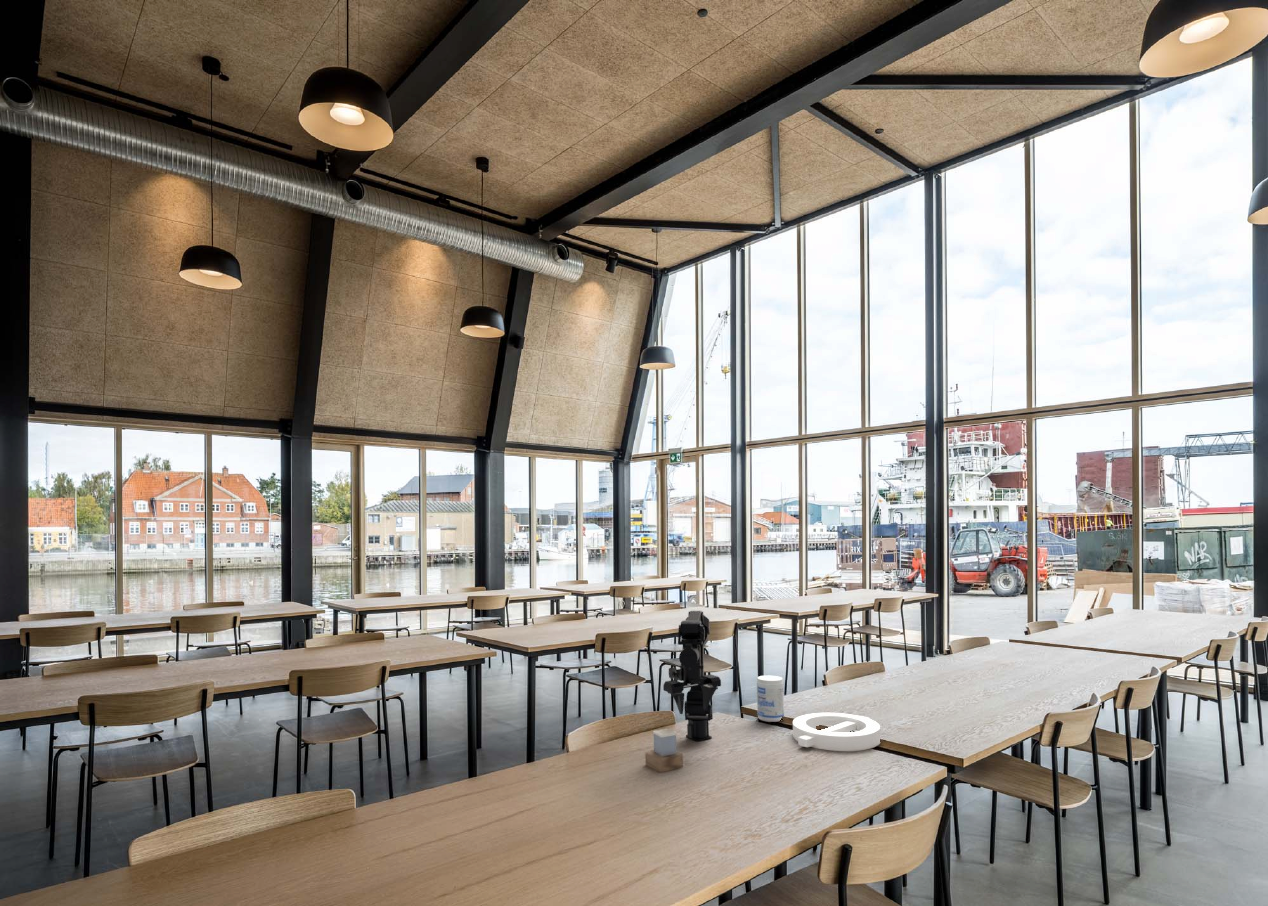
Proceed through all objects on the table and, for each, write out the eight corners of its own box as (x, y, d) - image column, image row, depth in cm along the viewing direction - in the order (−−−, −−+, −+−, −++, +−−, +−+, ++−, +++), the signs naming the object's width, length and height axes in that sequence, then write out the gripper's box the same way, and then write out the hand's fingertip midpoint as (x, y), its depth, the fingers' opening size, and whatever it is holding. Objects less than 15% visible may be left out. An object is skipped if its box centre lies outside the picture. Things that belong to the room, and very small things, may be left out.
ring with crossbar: (869, 726, 247) (869, 712, 248) (890, 752, 220) (889, 736, 220) (788, 726, 250) (788, 712, 251) (799, 751, 222) (798, 736, 223)
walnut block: (667, 760, 216) (667, 747, 217) (682, 768, 210) (682, 754, 210) (645, 765, 212) (645, 752, 213) (660, 773, 206) (660, 759, 206)
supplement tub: (755, 721, 256) (753, 679, 257) (760, 714, 264) (758, 674, 266) (782, 723, 252) (780, 681, 254) (786, 716, 261) (784, 675, 263)
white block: (668, 748, 215) (668, 728, 216) (677, 753, 211) (676, 732, 211) (653, 751, 213) (653, 730, 214) (661, 756, 208) (661, 735, 209)
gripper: (701, 654, 237) (702, 702, 235) (653, 660, 227) (654, 710, 226) (721, 659, 227) (722, 709, 226) (672, 666, 218) (673, 718, 216)
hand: (693, 711), depth 224 cm, fingers open, 9 cm apart
